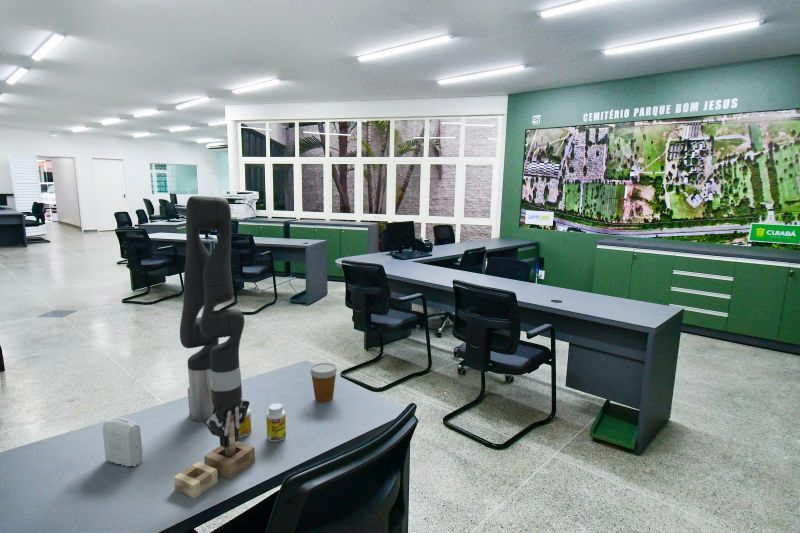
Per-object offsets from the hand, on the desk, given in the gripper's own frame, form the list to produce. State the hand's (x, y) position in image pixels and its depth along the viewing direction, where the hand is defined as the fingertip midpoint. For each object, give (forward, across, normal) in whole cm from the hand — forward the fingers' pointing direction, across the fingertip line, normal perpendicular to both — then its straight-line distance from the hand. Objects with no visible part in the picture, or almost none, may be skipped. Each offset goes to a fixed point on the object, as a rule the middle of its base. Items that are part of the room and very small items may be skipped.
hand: (229, 443), depth 118 cm
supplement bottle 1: (+6, -13, -9) cm, 17 cm away
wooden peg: (+4, 0, 0) cm, 4 cm away
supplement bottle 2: (+7, -16, +2) cm, 17 cm away
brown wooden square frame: (+6, 0, 0) cm, 6 cm away
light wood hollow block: (+6, +10, -1) cm, 12 cm away
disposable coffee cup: (+6, -43, 0) cm, 43 cm away
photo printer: (+6, +12, -27) cm, 30 cm away
